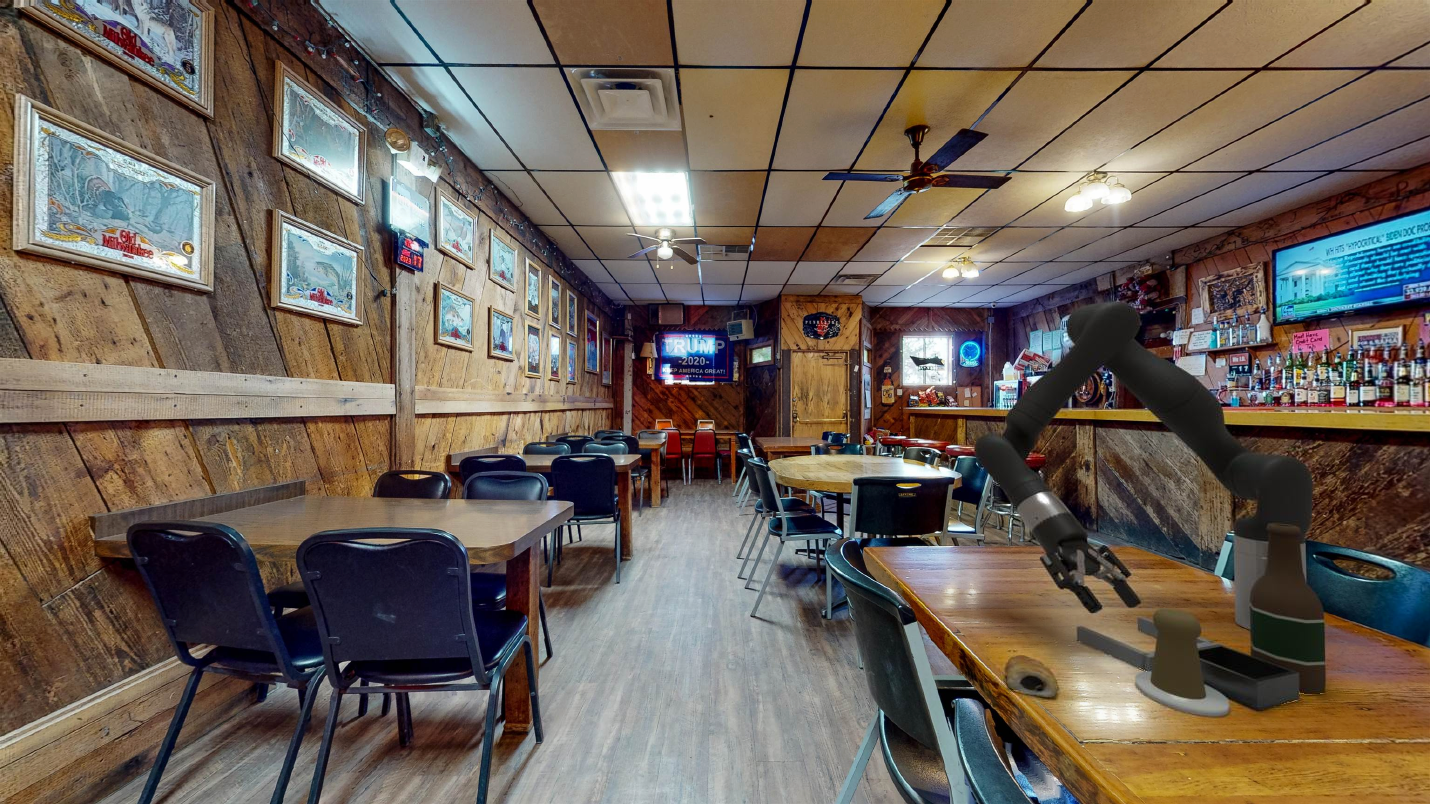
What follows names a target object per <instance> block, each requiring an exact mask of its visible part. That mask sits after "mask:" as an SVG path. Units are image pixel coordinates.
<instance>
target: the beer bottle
mask: <svg viewBox="0 0 1430 804" xmlns="http://www.w3.org/2000/svg"><path fill="white" fill-rule="evenodd" d="M1266 530H1267V531H1268V532H1269V539H1268V554H1267V565H1266V569H1265V574H1264V575H1263V576H1261V577H1260V578H1259V579H1258V580H1257V581H1256V582H1255V584H1254V585H1253V587H1252V589H1251V593H1250V630H1249V632H1250V633H1249V636H1250V642H1249V643H1250V655H1251V656H1254V657H1257V658H1260V659H1262V660H1265V661H1268V662H1271V663H1274V664H1276V665H1279V666H1282V667H1285V668H1288V669H1290V670H1293V671H1296V672H1299V692H1300V693H1304V694H1320V693H1324V694H1325V693H1326V682H1327V676H1326V672H1327V671H1326V670H1327V669H1326V632H1325V631H1326V629H1325V627H1326V625H1325V612H1324V608H1323V607H1324V606H1323V605H1322V602H1321V600H1320V599H1319V596H1318V594H1316V592H1315V591H1314V590H1313V589H1312V587H1311V586H1310V585H1309V584H1308V583H1307V579H1306V580H1305V576H1304V573H1303V566H1302V557H1301V548H1300V539H1299V536H1301V535H1302V532H1301V530H1300V528H1299V527H1297V526H1294V525H1288V524H1279V523H1271V524H1268V525H1267V528H1266Z"/></svg>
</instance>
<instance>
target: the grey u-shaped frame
mask: <svg viewBox="0 0 1430 804" xmlns="http://www.w3.org/2000/svg"><path fill="white" fill-rule="evenodd" d="M1138 630H1139V631H1138ZM1137 631H1138V632H1140V631H1141V632H1140V633H1143V632H1144V633H1143V634H1145V633H1146V635H1147V636H1151V635H1152V636H1151V637H1153V636H1154V638H1156V639H1157V635H1158V630H1157V629H1156V628H1155V626H1154V622H1153V619H1149V618H1147V617H1145V616H1137ZM1076 641H1077V642H1079V641H1080V642H1079V643H1081V642H1082V643H1081V644H1083V643H1084V645H1085V644H1086V646H1089V647H1090V648H1091V649H1094V648H1095V650H1097V651H1099V650H1100V652H1101V651H1102V652H1101V653H1103V652H1104V653H1103V654H1105V653H1106V655H1108V656H1110V655H1111V656H1110V657H1112V658H1114V659H1117V660H1119V661H1120V662H1123V663H1125V662H1126V663H1125V664H1128V665H1130V666H1133V667H1134V666H1135V668H1136V669H1139V668H1141V669H1143V670H1145V671H1144V672H1146V671H1152V666H1153V660H1154V654H1155V650H1154V651H1150V652H1145V651H1143V650H1140V649H1139V648H1136V647H1133V646H1131V645H1129V644H1126V643H1124V642H1122V641H1119V640H1116V639H1114V638H1111V636H1107V635H1105V634H1102V633H1100V632H1097V631H1095V630H1094V629H1090V628H1088V627H1086V626H1082V625H1080V626H1076ZM1196 643H1197V648H1201V647H1206V646H1212V645H1217V644H1219V642H1215V641H1213V640H1212V641H1211V640H1209V639H1206V638H1203V637H1201V636H1199V637H1198V638H1197V639H1196ZM1141 669H1140V670H1141ZM1143 670H1142V671H1143Z"/></svg>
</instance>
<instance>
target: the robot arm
mask: <svg viewBox="0 0 1430 804" xmlns="http://www.w3.org/2000/svg"><path fill="white" fill-rule="evenodd" d="M1140 327H1141V317H1140V313H1139V311H1138V310H1137V309H1136V308H1135V307H1134V306H1132V305H1131V304H1129V303H1127V302H1122V301H1104V302H1099V303H1090V304H1086V305H1083V306H1081V307H1079V308H1077V309H1075V310H1074V311H1072V312H1071V314H1069V316H1068V319H1067V321H1066V333H1067V335H1068V338H1069V339H1070V341H1071V342H1072V343H1073V346H1072V347H1071V348H1070V350H1069V351H1068V352H1067V353H1066V354H1065V355H1064V357H1063V358H1062V359H1060V361H1059V362H1057V363H1056V364H1055V365H1054V366H1053V367H1051V368H1050V369H1049V370H1048V371H1046V372H1045V373H1044V374H1042V376H1041V377H1039V378H1038V379H1037V380H1036V381H1035V382H1034V383H1033V384H1031V385H1030V386H1029V387H1028V388H1027V389H1026V390H1025V391H1024V392H1023V394H1022V395H1021V396H1020V397H1019V398H1018V399H1017V401H1016V402H1015V403H1014V404H1013V406H1012V407H1011V409H1009V411H1008V412H1007V413H1006V415H1005V419H1004V420H1005V424H1006V426H1005V427H1006V428H1005V430H1004V432H1003V433H1002V434H998V433H993V432H992V433H991V432H990V433H986V434H984V435H982V436H980V437H978V439H977V440H976V441H975V443H974V447H973V448H974V450H973V451H974V456H975V458H976V460H977V462H978V463H979V465H980V466H981V467H982V468H983V469H984V471H985V472H986V473H987V474H988V475H989V477H991V478H992V480H993V481H994V482H996V484H997V485H998V486H999V487H1000V489H1001V490H1002V491H1003V492H1004V494H1005V495H1006V497H1007V499H1008V500H1009V502H1010V503H1011V505H1012V506H1013V507H1014V509H1015V510H1016V511H1017V513H1018V515H1019V516H1020V518H1021V520H1022V521H1023V523H1024V524H1025V526H1026V528H1027V529H1028V530H1029V531H1030V532H1031V535H1032V536H1033V537H1034V538H1035V540H1036V541H1037V542H1038V544H1039V546H1041V548H1042V549H1043V551H1044V554H1042V556H1040V557H1039V560H1040V562H1041V563H1042V565H1043V567H1044V568H1045V570H1046V571H1047V572H1048V574H1049V575H1050V577H1051V579H1052V580H1053V582H1054V583H1055V585H1056V587H1058V589H1059V590H1060V591H1061V590H1062V591H1063V590H1069V592H1071V593H1073V594H1074V595H1075V596H1076V598H1077V599H1078V600H1079V602H1080V604H1082V605H1083V607H1084V608H1085V609H1086V610H1087V612H1088V613H1090V614H1097V613H1098V612H1100V611H1101V610H1103V604H1101V602H1100V601H1099V600H1098V598H1097V597H1096V596H1095V595H1094V593H1093V591H1091V589H1090V587H1088V585H1085V576H1088V577H1091V576H1092V577H1094V578H1096V579H1097V580H1102V581H1104V582H1105V583H1107V584H1109V585H1110V586H1111V587H1112V589H1113V591H1115V593H1116V594H1117V596H1118V597H1119V598H1120V599H1121V600H1122V602H1123V603H1124V604H1125V606H1126V607H1127V608H1128V609H1132V608H1133V609H1134V608H1136V607H1138V606H1139V605H1141V604H1142V601H1141V600H1140V598H1139V596H1138V594H1137V593H1136V592H1135V591H1134V589H1132V587H1131V586H1130V585H1129V583H1128V582H1127V579H1128V578H1129V577H1131V576H1132V573H1131V571H1129V570H1128V568H1127V567H1126V566H1125V565H1124V564H1123V562H1122V561H1121V560H1120V559H1119V558H1118V556H1116V554H1115V553H1114V552H1113V551H1112V550H1111V549H1110V548H1109V546H1107V545H1105V544H1102V545H1101V546H1099V547H1097V548H1095V547H1094V546H1092V545H1091V544H1090V543H1089V542H1088V538H1089V533H1088V531H1087V530H1086V529H1085V528H1084V527H1083V526H1082V524H1081V523H1080V522H1079V521H1078V520H1077V518H1076V517H1075V516H1074V514H1073V513H1072V512H1071V511H1070V510H1069V508H1068V507H1067V506H1066V504H1064V502H1063V501H1062V500H1061V499H1060V498H1058V497H1057V495H1056V494H1055V493H1054V492H1053V491H1052V490H1051V489H1050V487H1049V486H1048V485H1047V484H1046V483H1045V481H1044V480H1043V479H1042V478H1041V477H1040V476H1039V475H1038V474H1037V473H1036V472H1035V471H1034V470H1032V469H1031V468H1030V467H1029V466H1028V465H1027V464H1026V461H1027V460H1028V458H1029V456H1030V454H1031V452H1032V450H1033V448H1034V446H1035V444H1036V442H1037V439H1038V438H1039V436H1040V435H1041V433H1042V432H1043V431H1044V430H1045V428H1047V426H1048V425H1049V424H1050V423H1051V422H1052V420H1053V419H1054V418H1056V416H1057V414H1058V413H1059V411H1061V409H1062V408H1063V407H1064V406H1065V405H1066V404H1067V403H1068V402H1069V400H1070V399H1071V398H1072V397H1073V396H1074V395H1075V394H1076V393H1077V392H1078V390H1079V389H1081V388H1082V386H1084V385H1085V384H1086V383H1087V382H1088V380H1089V379H1091V378H1092V377H1093V376H1094V375H1095V374H1096V373H1097V372H1098V371H1099V370H1101V369H1102V367H1104V368H1105V369H1106V370H1108V371H1109V372H1110V373H1111V374H1112V375H1113V376H1114V377H1116V379H1117V380H1118V381H1119V382H1120V383H1121V384H1122V385H1123V386H1124V387H1125V388H1126V389H1127V390H1128V391H1129V392H1130V393H1131V394H1132V395H1133V396H1134V397H1135V398H1137V400H1138V401H1140V402H1141V404H1142V405H1143V406H1145V408H1146V409H1147V410H1148V412H1150V413H1151V414H1152V415H1154V416H1155V417H1156V419H1158V420H1159V421H1160V422H1161V423H1162V424H1164V426H1166V427H1167V428H1168V429H1169V430H1170V431H1172V433H1173V434H1175V436H1176V437H1178V439H1180V440H1181V441H1182V442H1183V443H1184V445H1186V446H1187V447H1188V448H1189V449H1190V450H1191V451H1192V452H1194V454H1196V456H1197V457H1198V458H1199V459H1200V460H1201V461H1202V462H1203V464H1204V465H1205V466H1206V467H1207V469H1208V470H1209V471H1210V472H1211V473H1212V475H1214V477H1215V478H1216V479H1217V481H1219V483H1220V484H1221V485H1222V486H1223V487H1224V488H1225V489H1226V490H1227V491H1228V492H1230V493H1231V494H1233V495H1234V496H1236V497H1239V498H1241V499H1244V500H1250V501H1255V502H1256V510H1255V513H1254V514H1253V515H1251V516H1249V517H1243V518H1242V517H1241V518H1238V519H1236V520H1234V523H1233V551H1234V552H1233V554H1234V555H1233V559H1234V560H1233V561H1234V562H1233V563H1234V565H1233V566H1234V567H1233V568H1234V570H1233V571H1234V618H1235V619H1234V620H1235V623H1236V624H1237V625H1239V626H1241V627H1243V628H1245V629H1247V630H1249V631H1250V593H1251V589H1252V587H1253V585H1254V584H1255V582H1256V581H1257V580H1258V579H1259V578H1260V577H1261V576H1263V575H1264V574H1265V569H1266V565H1267V554H1268V539H1269V532H1268V531H1267V530H1266V528H1267V525H1268V524H1271V523H1279V524H1288V525H1294V526H1297V527H1299V528H1300V530H1301V532H1302V535H1301V536H1299V539H1300V548H1301V557H1302V566H1303V573H1304V576H1305V580H1306V581H1307V558H1306V556H1307V555H1306V553H1307V552H1306V535H1307V533H1308V531H1310V530H1309V529H1310V527H1311V524H1312V513H1313V510H1312V509H1313V498H1314V497H1313V496H1314V482H1313V475H1312V473H1311V471H1310V469H1309V468H1308V466H1307V465H1306V464H1305V463H1304V462H1303V461H1302V460H1300V459H1298V458H1296V457H1293V456H1288V455H1287V456H1286V455H1278V454H1267V453H1255V452H1254V451H1252V450H1250V449H1248V448H1246V447H1245V446H1244V445H1243V444H1242V443H1240V442H1239V441H1238V440H1237V439H1236V438H1235V437H1234V436H1233V435H1231V433H1230V432H1229V431H1228V429H1227V427H1226V422H1225V414H1224V410H1223V407H1222V404H1221V402H1220V401H1219V399H1218V397H1216V396H1215V394H1214V393H1213V392H1212V391H1210V390H1209V388H1207V387H1206V386H1205V385H1204V384H1203V383H1202V382H1200V380H1199V379H1197V377H1195V376H1194V375H1193V374H1191V373H1189V372H1188V371H1187V370H1184V369H1183V368H1181V367H1180V366H1178V365H1176V363H1175V364H1174V363H1172V362H1171V361H1169V360H1167V359H1166V358H1163V357H1161V356H1159V355H1158V354H1156V353H1153V352H1152V351H1150V350H1148V349H1146V348H1145V347H1144V346H1143V345H1141V344H1140V343H1139V342H1138V341H1137V340H1136V339H1135V337H1136V336H1137V334H1138V333H1139V330H1140ZM1101 567H1102V568H1101ZM1115 567H1116V568H1117V569H1118V570H1117V569H1115ZM1059 574H1060V575H1061V576H1060V575H1059ZM1109 575H1110V576H1109ZM1061 577H1062V578H1061Z"/></svg>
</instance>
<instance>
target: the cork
mask: <svg viewBox="0 0 1430 804" xmlns="http://www.w3.org/2000/svg"><path fill="white" fill-rule="evenodd" d="M1152 620H1153V622H1154V626H1155V628H1156V629H1157V630H1158V635H1157V638H1156V642H1155V649H1154V651H1155V654H1154V660H1153V666H1152V672H1151V679H1150V680H1151V683H1152V684H1153V685H1154V686H1155V687H1157V688H1158V689H1160V690H1162V691H1164V692H1166V693H1169V694H1172V695H1175V696H1178V697H1182V698H1187V699H1199V700H1200V699H1204V698H1205V697H1206V691H1205V686H1204V681H1203V675H1202V670H1201V664H1200V659H1199V654H1198V648H1197V643H1196V639H1197V638H1198V637H1201V634H1202V626H1201V623H1200V621H1199V620H1198V618H1197V617H1195V616H1194V615H1192V614H1190V613H1188V612H1185V611H1183V610H1178V609H1171V608H1159V609H1157V610H1156V611H1155V612H1154V613H1153V617H1152Z"/></svg>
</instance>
